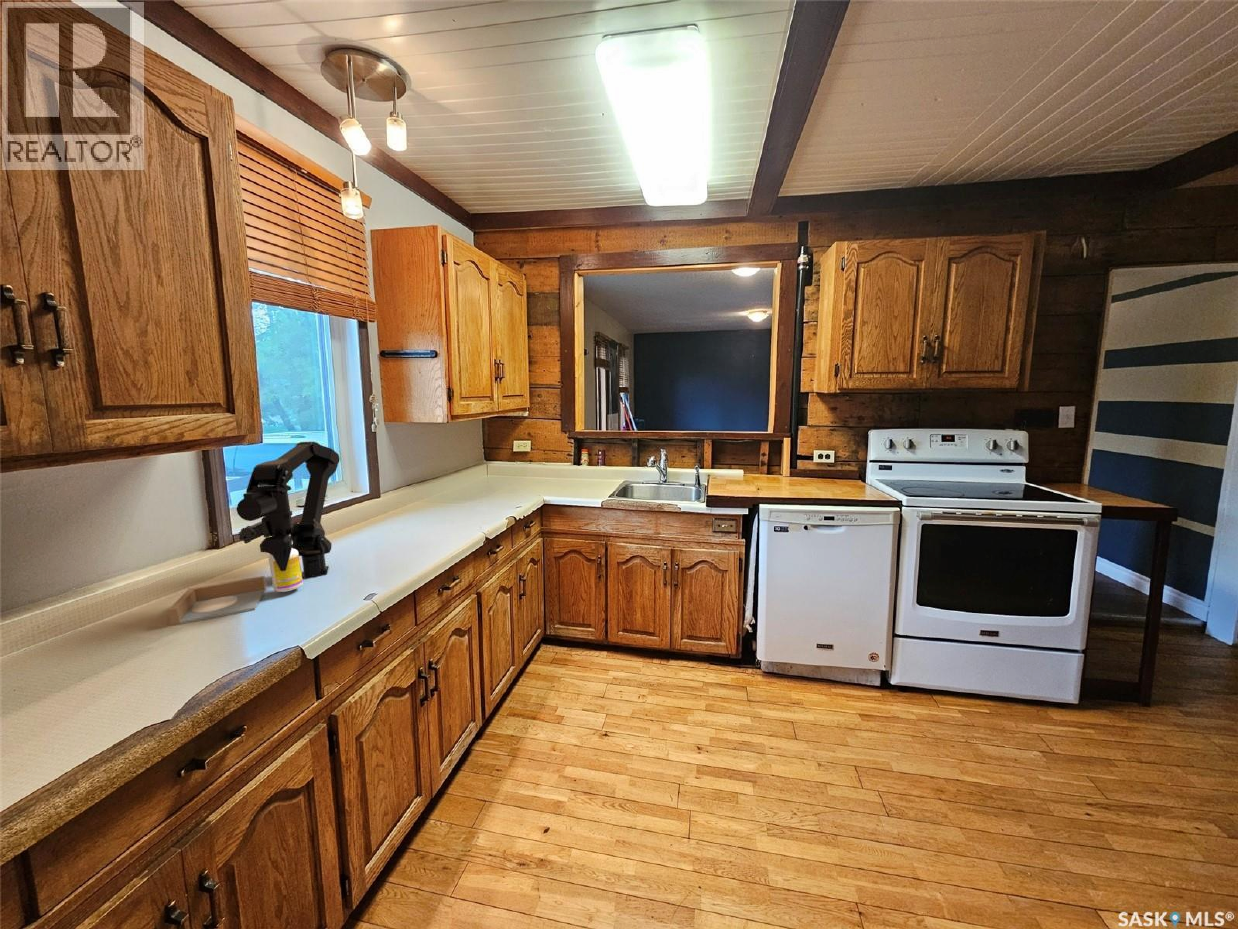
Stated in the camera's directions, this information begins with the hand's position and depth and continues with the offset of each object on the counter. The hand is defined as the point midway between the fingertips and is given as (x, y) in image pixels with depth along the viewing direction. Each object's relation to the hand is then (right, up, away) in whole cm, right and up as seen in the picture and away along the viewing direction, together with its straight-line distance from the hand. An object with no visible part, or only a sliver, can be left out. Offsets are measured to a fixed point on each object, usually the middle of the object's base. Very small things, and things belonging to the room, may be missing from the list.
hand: (285, 566), depth 129 cm
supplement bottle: (0, -6, +1) cm, 6 cm away
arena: (-11, -9, -7) cm, 16 cm away
